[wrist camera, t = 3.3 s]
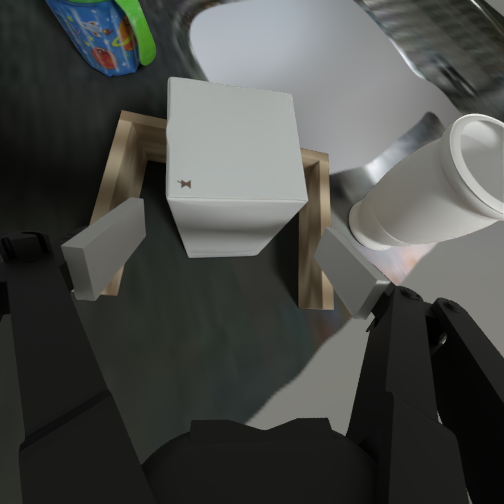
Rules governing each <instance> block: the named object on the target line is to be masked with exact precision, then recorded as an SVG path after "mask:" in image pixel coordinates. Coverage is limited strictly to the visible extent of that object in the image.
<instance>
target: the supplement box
mask: <svg viewBox="0 0 504 504" xmlns="http://www.w3.org/2000/svg"><path fill="white" fill-rule="evenodd" d="M166 138H167V161H166V198H167V201H168V203H169V206H170V209H171V212H172V215H173V217H174V220H175V222H176V225H177V228H178V231H179V233H180V236H181V239H182V241H183V244H184V247H185V250H186V252H187V255H188V257H189V258H197V257H227V256H253V255H257V254H258V253H259V252H260V251H261V250H262V249H263V248H264V247H265V246H266V245H267V244H268V243H269V242H270V241H271V239H272V238H273V237H274V236H275V235H276V234H277V233H278V232H279V231H280V230H281V229H282V228H283V227H284V226H285V225H286V224H287V223H288V222H289V221H290V220H291V219H292V217H293V216H294V215H295V214H296V213H297V212H298V211H299V210H300V209H301V208H302V207H303V206H304V205H305V204H306V203H307V202H308V196H307V190H306V184H305V177H304V171H303V164H302V157H301V151H300V144H299V138H298V132H297V125H296V119H295V114H294V107H293V99H292V95H291V94H287V93H281V92H276V91H268V90H260V89H251V88H244V87H237V86H230V85H224V84H217V83H212V82H206V81H199V80H193V79H186V78H177V77H170V78H169V79H168V104H167V127H166Z"/></svg>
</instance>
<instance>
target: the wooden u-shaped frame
mask: <svg viewBox="0 0 504 504" xmlns="http://www.w3.org/2000/svg"><path fill="white" fill-rule="evenodd" d="M166 127H167V120H165V119H161V118H156V117H151V116H146V115H142V114H137V113H132V112H128V111H123V110H122V112H121V115H120V119H119V122H118V126H117V129H116V133H115V136H114V140H113V143H112V147H111V151H110V154H109V158H108V161H107V165H106V168H105V172H104V175H103V179H102V182H101V186H100V190H99V193H98V197H97V200H96V204H95V207H94V211H93V214H92V218H91V221H90V225H92V224H93V223H94V222H96V221H97V220H99V219H100V218H102V217H103V216H104V215H106V214H107V213H109V212H110V211H112V210H113V209H115V208H116V207H117V206H119V205H120V204H122V203H123V202H125V201H126V200H127V199H129V198H130V197H134V198H139V196H140V192H141V187H142V183H143V179H144V174H145V170H146V165H147V161H148V160H151V161H156V162H162V163H166V161H167V138H166ZM300 151H301V157H302V164H303V171H304V177H305V184H306V190H307V196H308V202H307V203H306V204H305V205H304V206H303V207H302V208H301V209H300V210H299V302H298V308H304V309H328V310H334V303H333V286H332V284H331V283H330V281H329V280H328V278H327V277H326V275H325V274H324V272H323V271H322V269H321V267H320V266H319V264H318V263H317V261H316V260H315V258H314V254H315V252H316V249H317V247H318V244H319V242H320V239H321V237H322V234H323V231H324V229H325V227H331V217H330V188H329V160H328V154H326V153H321V152H317V151H311V150H307V149H302V148H300ZM90 225H89V226H90ZM123 268H124V265H123V266H122V267H121V268H120V270H119V271H118V272H117V274H116V275H115V276H114V277H113V279H112V280H111V281H110V283H109V284H108V285H107V286H106V288H105V289H104V290H103V292H102V293H101V294H102V295H115V296H117V294H118V290H119V285H120V281H121V276H122V272H123ZM71 292H74V289H73V290H72V291H71Z"/></svg>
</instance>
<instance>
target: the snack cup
mask: <svg viewBox="0 0 504 504" xmlns="http://www.w3.org/2000/svg"><path fill="white" fill-rule="evenodd" d="M45 1H46V3H47V4H48V6H49V7H50V9H51V10H52V12H53V13H54V15H55V16H56V18H57V19H58V21H59V23H60V24H61V25H62V27H63V28H64V30H65V31H66V32H67V34H68V36H69V37H70V39H71V40H72V42H73V43H74V45H75V46H76V48H77V49H78V51H79V52H80V53H81V55H82V57H83V58H84V59H85V61H86V62H87V63H88V64H89V65H90V66H91V67H92V68H94V69H96V70H97V71H100V72H102V73H103V74H105V75H107V76H110V77H111V76H112V75H114V76H122V75H126V74H129V73H132V72H133V73H135V72H136V70H137V68H138V66H139V64H140V63H141V64H142V65H148V64H149V63H151V62H152V61H153V59H154V58H155V55H156V47H155V43H154V41H153V38H152V35H151V33H150V30H149V27H148V25H147V22H146V20H145V17H144V14H143V12H142V9H141V7H140V4H139V2H138V0H45Z"/></svg>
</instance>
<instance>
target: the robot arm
mask: <svg viewBox="0 0 504 504" xmlns="http://www.w3.org/2000/svg"><path fill="white" fill-rule="evenodd" d="M145 236H146V232H145V217H144V201H143V199H140V198H134V197H130V198H129V199H127V200H126V201H125V202H123V203H122V204H120V205H119V206H117V207H116V208H115V209H113V210H112V211H110V212H109V213H107V214H106V215H104V216H103V217H102V218H100V219H99V220H97V221H96V222H94V223H93V224H92V225H90V226H82V227H79V228H76V229H74V230H72V231H71V232H69V233H68V234H67V235H65V236H63V237H61V239H58V240H57V241H55V242H54V243H52V244H50V241H49V238H48V235H47V234H46V233H45V232H42V231H37V230H23V231H16V232H11V233H8V234H4V235H2V236H0V253H1V256H2V258H3V260H4V262H1V263H0V321H1V319H2V317H3V315H4V314H11V320H12V328H13V337H14V345H15V353H16V361H17V369H18V378H19V386H20V394H21V402H22V410H23V419H24V427H25V441H24V442H23V443H22V444H21V445H20V449H19V468H20V479H21V489H22V500H23V504H469V500H468V495H467V491H468V493H469V496H470V499H471V501H472V504H504V358H503V357H502V355H501V354H500V353H499V352H498V350H497V349H496V348H495V346H494V345H493V344H492V343H491V342H490V340H489V339H488V338H487V336H486V335H485V334H484V333H483V331H482V330H481V329H480V328H479V326H478V325H477V324H476V323H475V321H474V320H473V319H472V318H471V316H470V315H469V314H468V312H466V310H465V309H463V308H462V307H461V306H459V304H457V303H455V302H454V301H452V300H448V299H445V298H437V299H436V301H435V302H434V303H433V304H430V303H427V302H424V301H423V299H422V297H421V296H420V295H418V294H417V293H416V292H414V291H412V290H411V289H409V288H406V287H402V286H396V285H395V284H394V283H392V282H391V281H390V280H389V279H388V278H387V277H386V276H385V275H383V273H382V272H381V271H379V269H378V268H377V267H376V266H375V265H373V264H372V263H371V262H370V261H369V260H368V259H366V258H365V257H364V256H363V255H362V254H361V253H360V252H359V251H358V250H357V249H356V248H355V247H354V246H353V245H352V244H351V243H350V242H349V241H348V240H347V239H346V238H345V237H343V236H342V235H341V234H340V233H339V232H338V231H337V230H336V229H335V228H332V227H325V229H324V231H323V234H322V237H321V239H320V242H319V244H318V247H317V249H316V252H315V254H314V258H315V260H316V261H317V263H318V264H319V266H320V267H321V269H322V271H323V272H324V274H325V275H326V277H327V278H328V280H329V281H330V283H331V284H332V286H333V287H334V289H335V291H336V292H337V294H338V295H339V297H340V298H341V300H342V301H343V303H344V304H345V306H346V307H347V309H348V311H349V312H350V314H351V315H352V317H353V318H354V319H363V320H366V319H367V317H368V316H369V314H370V313H371V312H372V313H373V314H374V316H375V318H374V320H373V321H372V323H371V324H370V326H369V327H368V328H367V330H366V332H368V331H370V333H369V337H368V342H367V346H366V351H365V355H364V360H363V364H362V369H361V373H360V378H359V382H358V387H357V391H356V396H355V400H354V405H353V409H352V414H351V418H350V423H349V427H348V431H347V433H346V436H344V435H342V434H340V433H338V432H336V431H334V430H332V428H331V425H330V423H329V420H328V418H297V419H294V420H292V421H289V422H287V423H284V424H282V425H279V426H276V427H274V428H271V429H269V430H260V429H257V428H254V427H250V426H247V425H244V424H240V423H237V422H234V421H230V420H192V421H191V428H190V432H187V433H185V434H182V435H180V436H178V437H176V438H174V439H172V440H170V441H169V442H167V443H166V444H164V445H163V446H161V447H160V448H159V449H158V450H156V451H155V452H154V453H153V454H152V455H151V456H150V457H149V458H148V459H147V460H146V461H145V462H144V463H143V464H142V465H140V462H139V460H138V457H137V455H136V452H135V450H134V448H133V445H132V443H131V440H130V438H129V435H128V433H127V430H126V428H125V425H124V423H123V421H122V418H121V416H120V413H119V411H118V408H117V406H116V403H115V401H114V399H113V396H112V394H111V392H110V391H109V390H108V388H107V386H106V383H105V381H104V378H103V376H102V373H101V371H100V368H99V366H98V363H97V361H96V358H95V356H94V353H93V351H92V348H91V346H90V343H89V341H88V338H87V336H86V333H85V331H84V328H83V326H82V323H81V321H80V318H79V316H78V313H77V311H76V308H75V306H74V303H73V301H72V298H71V296H70V292H71V291H72V290H73V289H74V293H75V296H76V299H78V300H92V301H96V299H97V298H98V297H99V295H100V294H101V293H102V292H103V290H104V289H105V288H106V286H107V285H108V284H109V283H110V281H111V280H112V279H113V277H114V276H115V275H116V274H117V272H118V271H119V270H120V268H121V267H122V266H123V265H124V263H125V262H126V261H127V260H128V258H129V257H130V256H131V254H132V253H133V252H134V251H135V249H136V248H137V247H138V245H139V244H140V243H141V242H142V240H143V239H144V238H145ZM445 339H446V341H445V343H444V344H442V342H443V341H444V340H445ZM437 411H438V413H439V416H440V419H441V421H442V424H443V425H442V424H441V423H439V421H438V415H437ZM466 488H467V490H466Z"/></svg>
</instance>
